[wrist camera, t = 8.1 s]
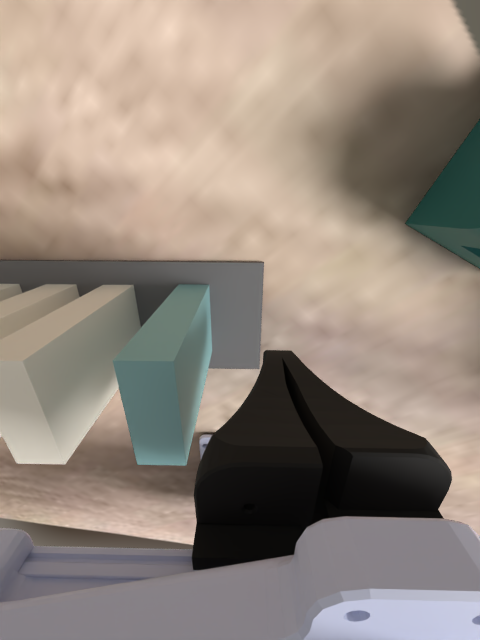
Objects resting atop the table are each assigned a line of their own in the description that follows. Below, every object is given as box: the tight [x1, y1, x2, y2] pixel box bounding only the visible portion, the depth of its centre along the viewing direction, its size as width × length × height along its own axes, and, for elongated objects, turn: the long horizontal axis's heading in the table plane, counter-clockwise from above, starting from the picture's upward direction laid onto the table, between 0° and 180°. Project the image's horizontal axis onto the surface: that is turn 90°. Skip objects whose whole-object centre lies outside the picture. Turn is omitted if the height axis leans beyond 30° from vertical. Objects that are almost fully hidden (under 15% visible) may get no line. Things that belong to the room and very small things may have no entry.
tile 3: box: [0, 284, 79, 438], centre depth 13 cm, size 5×2×9 cm, turn 0°
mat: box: [0, 260, 264, 369], centre depth 18 cm, size 8×24×1 cm, turn 90°
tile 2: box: [0, 285, 141, 464], centre depth 13 cm, size 5×2×9 cm, turn 0°
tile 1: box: [113, 284, 212, 466], centre depth 13 cm, size 5×2×9 cm, turn 0°
